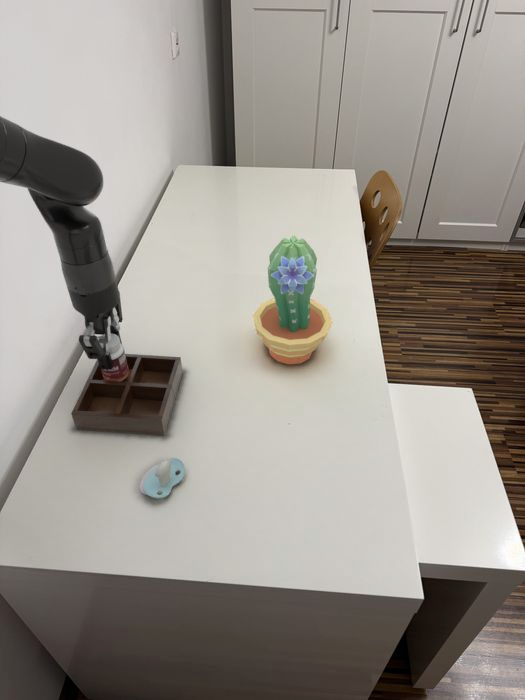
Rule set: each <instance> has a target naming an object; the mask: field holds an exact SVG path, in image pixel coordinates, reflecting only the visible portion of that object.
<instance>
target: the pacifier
mask: <svg viewBox="0 0 525 700" xmlns="http://www.w3.org/2000/svg"><path fill="white" fill-rule="evenodd" d="M185 467H186V466H185V464H184V462H183V461H182V460H180V459H179V458H165V459H164V460H163V461H161V462H159V463H156V464H154V465H153V466H150V468H149V469H147V470H146V471H145V473H144V474H143V475H142V477H141V478H140V482H139V486H138V487H139V492H141V494H143V495H145V496H149V497H150V498H152V499H159V500H160V499H165V498H166V497H168V496H169V495H170V494H171V492H172V488H173V487H174V486H176V485H178V484H179V483H181V481H182V480H183V478H184V477H185V473H186V468H185ZM177 472H179V474H176V473H177Z"/></svg>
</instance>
